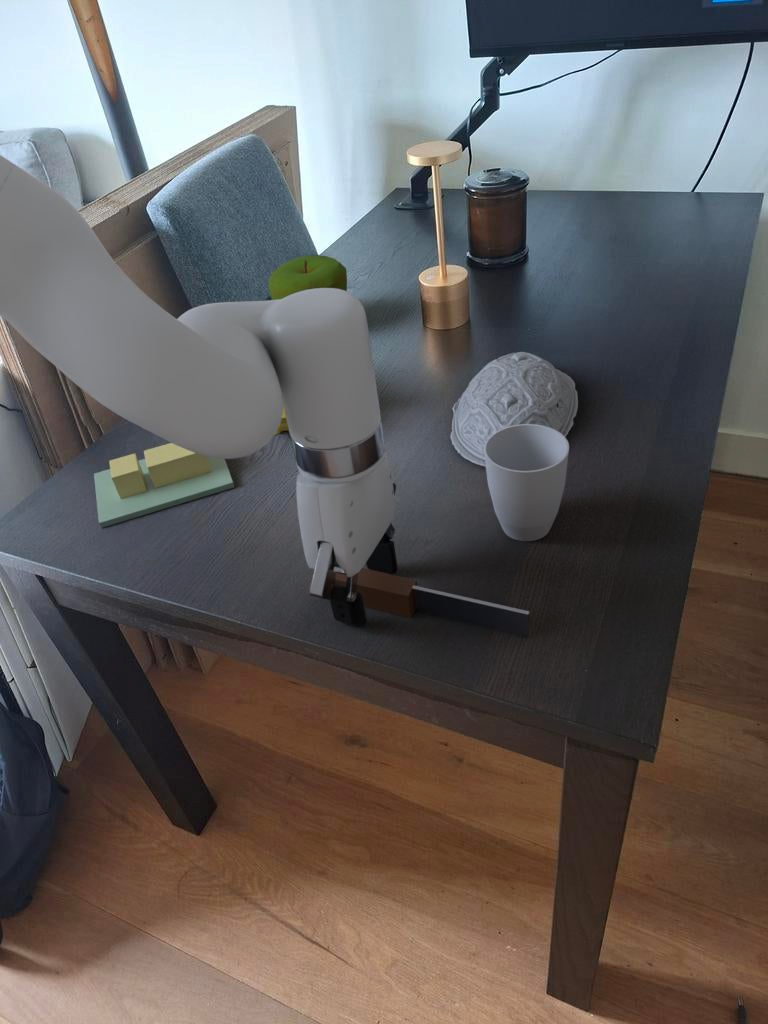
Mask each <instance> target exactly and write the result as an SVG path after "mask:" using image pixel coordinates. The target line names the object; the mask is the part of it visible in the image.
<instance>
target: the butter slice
mask: <svg viewBox="0 0 768 1024" xmlns="http://www.w3.org/2000/svg"><path fill="white" fill-rule="evenodd" d="M108 462H109V469H110V471H111V478H112V480H113V483H114V485H115V487H116V490H117V492H118V494H119V497H120V499H122V498H126V497H129V496H132V495H136V494H139V493H142V492H146V491H147V489H146V484H145V479H144V474H143V471H142V469H141V466H140V464H139V458H138V456H137V453H131V454H127V455H124V456H121V457H117V458H114V459H110V460H108Z"/></svg>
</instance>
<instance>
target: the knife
mask: <svg viewBox="0 0 768 1024" xmlns="http://www.w3.org/2000/svg"><path fill="white" fill-rule="evenodd" d="M313 574H314V572H313V573H312V575H313ZM346 581H347V575H345V574H340V573H336V579H335V584H339V585H343V586H346ZM357 592H359V593H360V594H362V599H363V604H364V608H367V609H372V610H376V611H380V612H383V613H388V614H392V615H395V616H396V615H397V616H399V617H404V618H407V619H412V617H413V615H414V614H415V611H417V612H421V613H425V614H429V615H434V616H438V617H442V618H446V619H449V620H450V619H451V620H455V621H459V622H463V623H467V624H470V625H471V624H472V625H476V626H480V627H482V628H488V629H492V630H497V631H501V632H504V633H509V634H513V635H517V636H522V637H524V638H529V637H530V627H531V626H530V616H531V615H530V611H529V610H525V609H521V608H516V607H513V606H508V605H507V606H506V605H503V604H498V603H495V602H491V601H490V602H489V601H485V600H481V599H477V598H472V597H468V596H463V595H458V594H453V593H450V592H446V591H441V590H437V589H433V588H432V589H431V588H428V587H424V586H419V585H418V580H417V579H414V578H410V577H404V576H400V575H396V574H388V573H384V572H379V571H375V570H370V569H368V568H364V567H363V568H362V569H361V570H360V571H359V572H358V581H357Z"/></svg>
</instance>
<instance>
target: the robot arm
mask: <svg viewBox="0 0 768 1024" xmlns="http://www.w3.org/2000/svg"><path fill="white" fill-rule="evenodd" d="M0 317H1V318H3V319H4V320H5V321H7V322H8V324H9V325H10V326H12V328H13V329H14V330H15V331H16V332H17V333H18V334H19V335H20V336H21V337H22V338H23V339H24V340H25V341H26V342H27V343H28V344H29V345H30V346H31V347H32V348H33V349H35V350H36V351H37V352H38V353H39V354H40V355H42V357H44V358H45V359H46V360H48V362H49V363H51V364H52V365H53V366H55V368H57V369H58V370H59V371H60V372H61V373H62V374H63V375H64V376H66V377H67V379H69V380H70V381H72V382H73V383H74V384H75V385H76V386H77V387H78V388H80V389H81V390H82V391H83V392H85V393H86V394H87V395H88V396H90V397H91V398H92V399H94V400H95V401H97V402H98V403H100V404H101V405H102V406H104V407H105V408H107V409H108V410H110V411H111V412H113V413H114V414H116V415H118V416H120V418H121V417H122V418H123V419H125V420H127V422H128V421H129V422H130V423H132V424H134V425H136V426H138V427H140V428H142V429H143V430H145V431H148V432H150V433H151V434H153V435H156V436H157V437H160V438H162V439H163V440H166V441H167V442H169V443H173V444H175V445H177V446H180V447H182V448H184V449H187V450H189V451H192V452H194V453H197V454H201V455H204V456H208V457H213V458H221V459H225V460H233V459H240V458H243V457H248V456H250V455H252V454H255V453H257V452H258V451H260V450H261V449H263V448H264V447H265V446H267V445H268V444H269V442H271V441H272V439H273V438H274V437H275V434H276V432H277V430H278V428H279V425H280V422H281V420H282V414H283V407H284V411H285V416H286V420H287V424H288V428H289V430H288V432H289V437H290V443H291V446H292V449H293V454H294V458H295V462H296V467H297V469H298V474H297V476H296V483H295V487H296V488H295V490H296V508H297V509H296V510H297V518H298V524H299V532H300V538H301V543H302V547H303V553H304V558H305V561H306V564H307V567H308V568H309V569H311V570H314V571H313V573H314V574H313V573H312V579H311V584H310V588H309V596H311V597H315V598H318V599H321V600H322V599H323V600H329V602H330V607H331V610H332V615H333V618H334V620H335V621H336V622H340V623H342V624H345V625H353V626H356V627H360V628H364V627H365V626H366V624H367V623H368V620H367V616H366V610H365V607H364V604H363V599H362V594H360V593H359V592H357V581H358V572H359V571H360V570H361V569H362V568H364V566H365V565H366V569H369V570H373V571H378V572H382V573H387V574H391V575H396V573H397V571H398V569H399V568H398V561H397V554H396V546H395V541H394V540H393V539H394V537H395V534H396V529H395V527H394V525H393V524H392V522H393V520H394V518H395V514H396V496H395V495H396V491H397V484H396V483H394V482H393V478H392V473H391V472H392V471H391V467H390V464H389V459H388V456H387V451H386V444H385V437H384V429H383V424H382V423H383V421H382V416H381V409H380V402H379V395H378V388H377V380H376V374H375V366H374V360H373V353H372V345H371V340H370V331H369V324H368V319H367V314H366V310H365V307H364V305H363V304H362V302H361V301H360V300H359V298H358V297H356V296H355V295H354V294H353V293H350V292H349V291H348V290H347V291H344V290H341V289H335V288H316V289H309V290H304V291H300V292H297V293H294V294H291V295H289V296H287V297H285V298H283V299H279V300H272V299H270V300H269V299H268V300H252V301H251V300H250V301H224V302H223V301H221V302H213V303H206V304H201V305H198V306H196V307H195V306H194V307H193V308H190V309H187V311H185V312H184V313H182V314H181V315H180V316H179V317H178V318H176V317H174V316H173V315H172V314H170V313H169V312H168V311H167V310H165V309H164V308H163V307H162V306H161V305H159V304H158V303H156V302H155V301H154V300H153V299H151V297H149V296H148V294H146V293H145V292H144V291H143V290H141V289H140V287H138V286H137V284H135V282H134V281H132V280H131V278H130V277H129V276H128V275H127V274H126V272H124V270H123V269H122V268H120V266H119V265H118V264H117V262H116V261H115V260H114V259H113V257H112V256H111V255H110V253H109V251H107V249H106V248H105V246H104V244H103V243H102V242H101V241H100V239H99V237H98V236H97V234H96V233H95V231H94V229H93V228H92V227H91V226H90V224H89V223H88V221H87V220H86V219H85V217H84V216H83V215H82V214H81V212H80V211H79V210H78V209H77V208H76V207H75V206H74V205H73V204H72V203H71V202H70V201H69V199H67V198H66V197H65V196H64V195H63V194H61V193H60V192H59V191H57V190H55V189H54V188H52V187H51V186H49V185H48V184H46V183H45V182H43V181H42V180H40V179H38V178H37V177H35V176H33V174H30V173H29V172H28V171H26V170H24V169H23V168H21V167H20V166H18V165H17V164H15V163H13V162H12V161H11V160H9V159H8V158H6V157H4V156H3V155H1V154H0ZM276 435H277V434H276ZM336 573H340V574H345V575H347V581H346V586H343V585H339V584H335V579H336Z"/></svg>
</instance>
